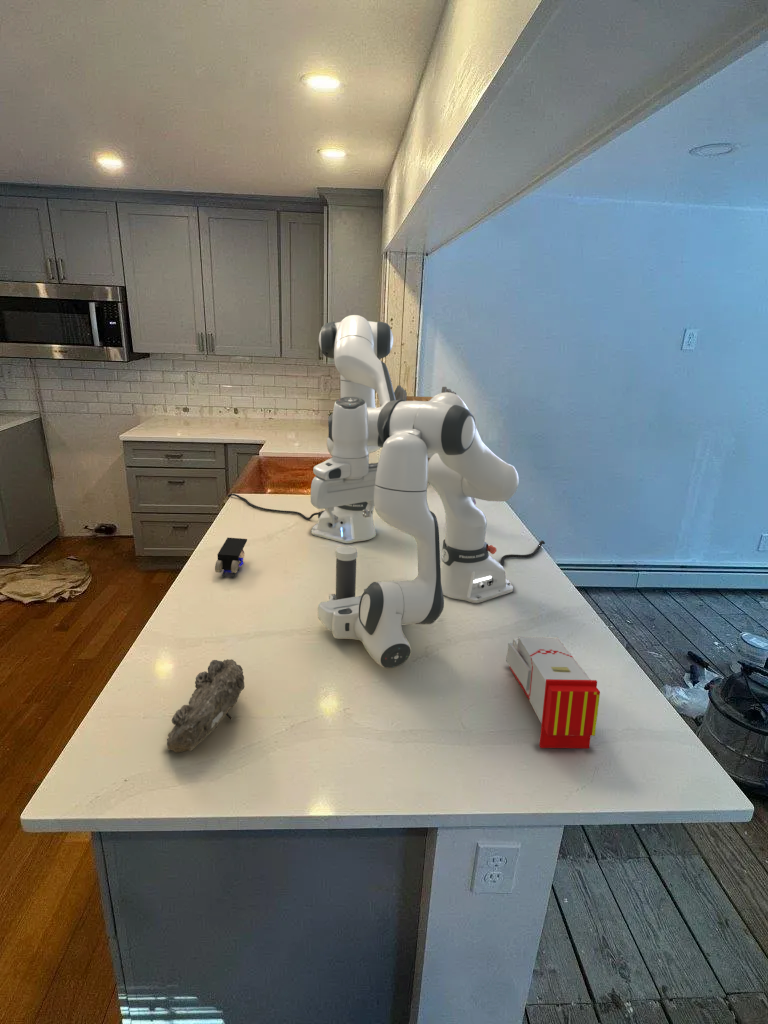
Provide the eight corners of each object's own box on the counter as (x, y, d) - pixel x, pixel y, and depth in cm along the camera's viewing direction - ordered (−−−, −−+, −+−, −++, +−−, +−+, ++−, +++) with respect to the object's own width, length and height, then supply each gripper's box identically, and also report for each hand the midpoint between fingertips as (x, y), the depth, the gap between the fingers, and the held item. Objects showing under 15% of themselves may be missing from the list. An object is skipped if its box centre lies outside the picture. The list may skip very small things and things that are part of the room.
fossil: (192, 660, 117) (244, 628, 112) (224, 691, 120) (276, 661, 115) (142, 746, 98) (202, 712, 93) (182, 779, 101) (242, 748, 96)
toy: (554, 620, 129) (609, 687, 99) (549, 674, 131) (601, 755, 102) (501, 619, 128) (541, 686, 99) (497, 673, 131) (534, 754, 102)
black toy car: (238, 584, 162) (249, 557, 175) (236, 562, 158) (247, 536, 172) (215, 584, 161) (227, 556, 175) (212, 561, 158) (225, 535, 171)
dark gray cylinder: (333, 611, 147) (334, 554, 142) (337, 602, 152) (338, 546, 147) (353, 613, 147) (355, 556, 141) (356, 603, 152) (358, 548, 146)
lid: (333, 560, 142) (333, 553, 141) (337, 551, 147) (337, 544, 147) (355, 561, 142) (355, 554, 141) (358, 552, 147) (358, 546, 146)
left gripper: (380, 458, 145) (379, 509, 150) (306, 468, 135) (308, 522, 139) (393, 464, 140) (392, 516, 145) (318, 474, 130) (319, 530, 134)
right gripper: (409, 601, 137) (386, 576, 149) (328, 615, 129) (311, 588, 141) (408, 624, 139) (385, 598, 151) (328, 639, 131) (311, 611, 143)
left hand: (350, 519), depth 142 cm, fingers open, 8 cm apart
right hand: (349, 593), depth 146 cm, fingers open, 8 cm apart
